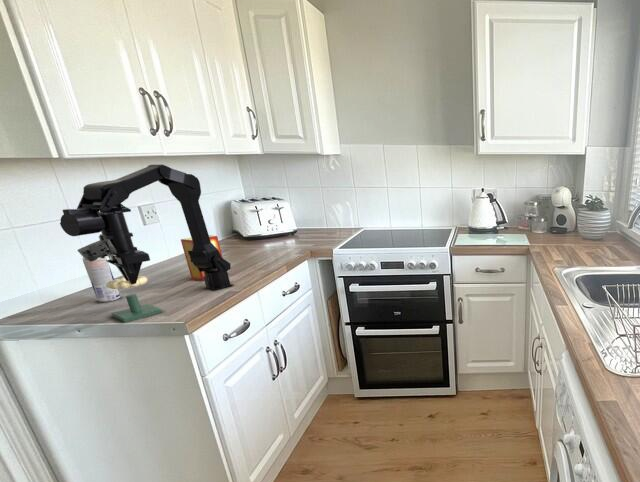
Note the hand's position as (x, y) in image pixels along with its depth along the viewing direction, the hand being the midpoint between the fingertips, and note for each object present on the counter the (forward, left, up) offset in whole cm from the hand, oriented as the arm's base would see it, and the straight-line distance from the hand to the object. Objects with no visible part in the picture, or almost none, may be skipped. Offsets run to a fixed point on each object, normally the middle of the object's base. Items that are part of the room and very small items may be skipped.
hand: (132, 283), depth 121 cm
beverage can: (-1, -28, -11) cm, 30 cm away
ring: (0, -4, 0) cm, 4 cm away
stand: (0, -3, -10) cm, 11 cm away
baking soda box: (-32, -29, -11) cm, 44 cm away
